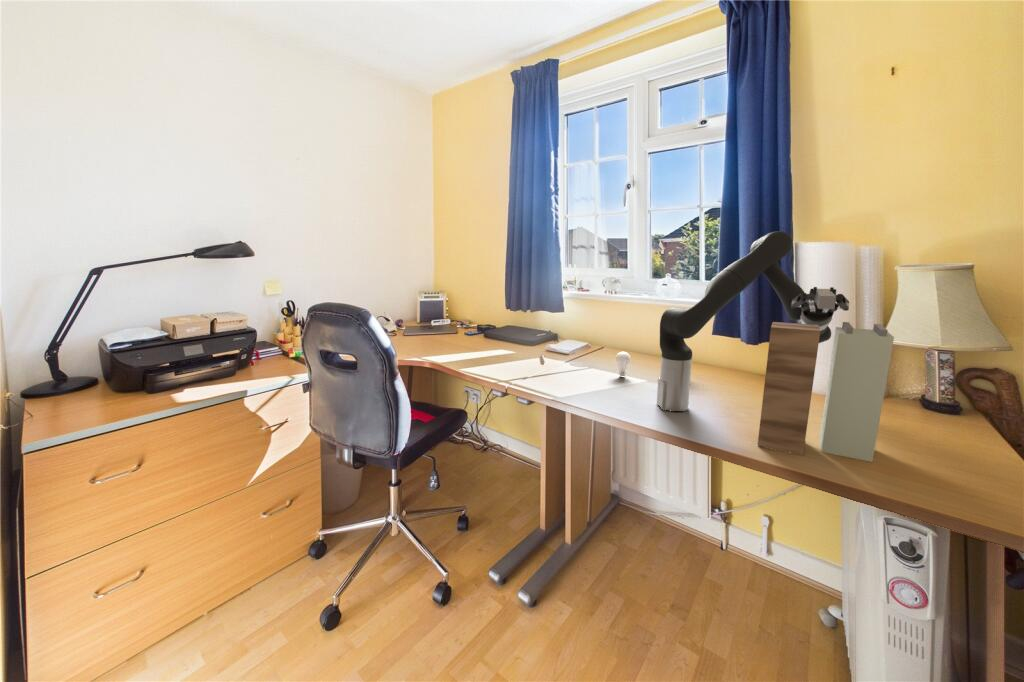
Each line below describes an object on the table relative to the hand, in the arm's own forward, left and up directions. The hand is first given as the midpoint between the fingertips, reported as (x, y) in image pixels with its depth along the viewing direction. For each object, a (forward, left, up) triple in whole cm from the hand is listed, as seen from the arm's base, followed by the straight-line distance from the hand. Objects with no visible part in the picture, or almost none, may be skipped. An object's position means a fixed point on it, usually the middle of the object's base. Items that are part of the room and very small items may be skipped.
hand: (823, 290), depth 110 cm
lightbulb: (-40, +55, -41) cm, 79 cm away
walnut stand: (-10, -7, -40) cm, 42 cm away
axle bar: (-3, -5, -3) cm, 7 cm away
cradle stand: (+4, -10, -40) cm, 42 cm away
